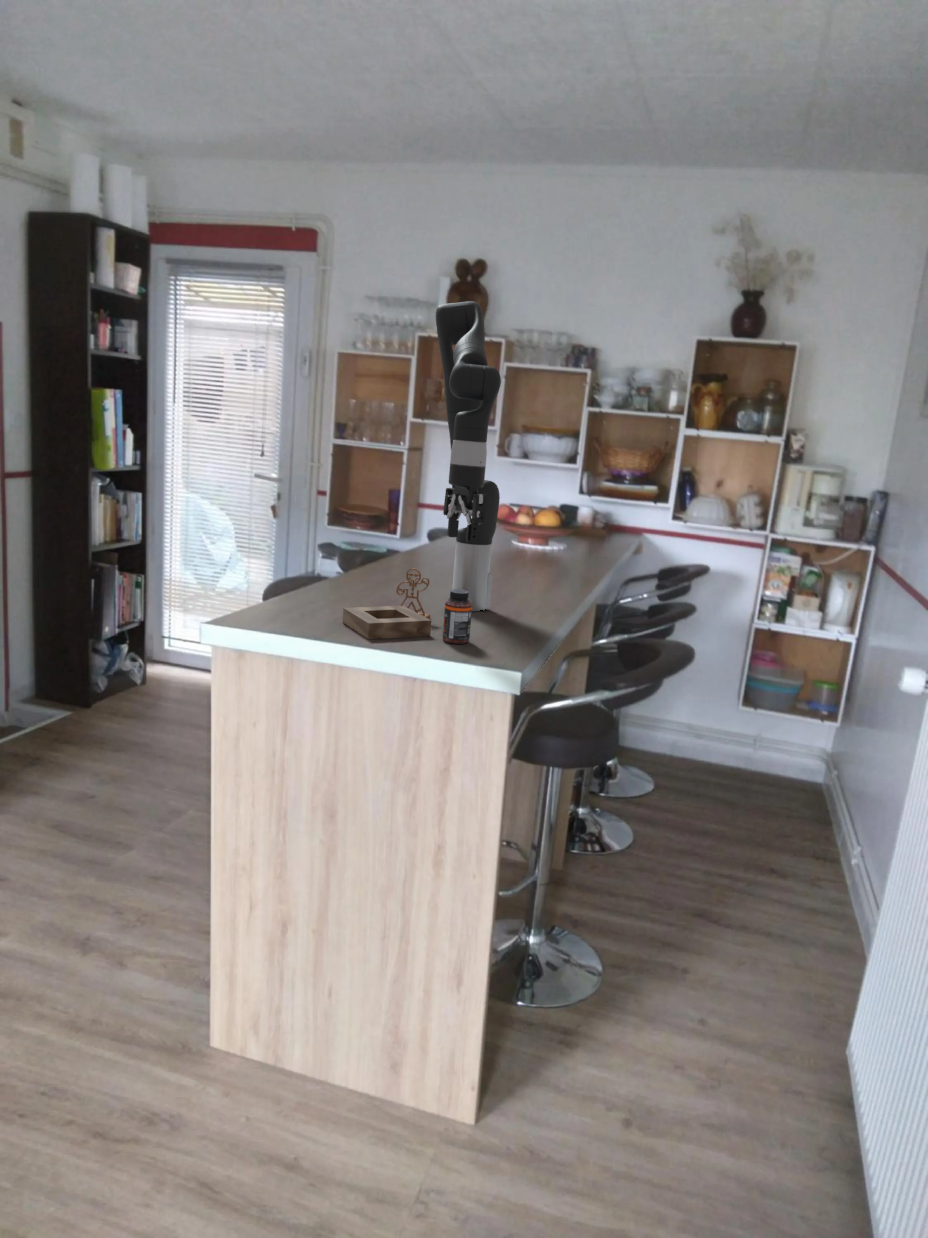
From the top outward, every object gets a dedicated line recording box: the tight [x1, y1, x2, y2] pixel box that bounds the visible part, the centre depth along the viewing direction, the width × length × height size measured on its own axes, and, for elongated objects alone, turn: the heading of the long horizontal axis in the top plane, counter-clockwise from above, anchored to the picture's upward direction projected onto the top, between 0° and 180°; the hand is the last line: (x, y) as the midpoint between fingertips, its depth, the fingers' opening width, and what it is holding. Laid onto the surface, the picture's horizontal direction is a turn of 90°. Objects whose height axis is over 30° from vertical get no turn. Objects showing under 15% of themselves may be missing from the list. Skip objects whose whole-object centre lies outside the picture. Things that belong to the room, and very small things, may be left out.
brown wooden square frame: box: [342, 605, 432, 640], centre depth 194 cm, size 15×15×4 cm
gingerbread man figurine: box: [396, 567, 431, 620], centre depth 207 cm, size 9×4×12 cm, turn 73°
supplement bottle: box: [442, 589, 473, 645], centre depth 188 cm, size 6×6×11 cm
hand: (461, 539), depth 184 cm, fingers open, 8 cm apart
